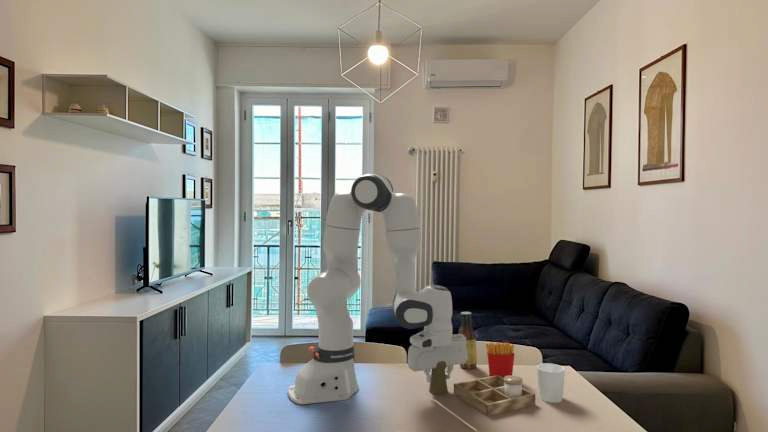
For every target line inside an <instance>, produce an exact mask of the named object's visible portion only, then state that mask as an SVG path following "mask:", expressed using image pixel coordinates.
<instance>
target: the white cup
mask: <svg viewBox="0 0 768 432" xmlns="http://www.w3.org/2000/svg"><path fill="white" fill-rule="evenodd" d="M565 370H566V369H565V367H563V366H562V365H559V364H555V363H552V362H551V363H550V362H549V363H548V362H546V363H544V362H543V363H539V364H537V365H536V372H537V373H536V374H537V387H538V398H539V399H540V400H541V401H544V402H546V403H552V404H557V403H561V402H563V396H564V391H565V390H564V389H565V388H564V387H565V374H566V373H565Z"/></svg>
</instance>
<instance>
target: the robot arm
mask: <svg viewBox="0 0 768 432" xmlns="http://www.w3.org/2000/svg"><path fill="white" fill-rule="evenodd" d="M366 210H367V211H371V212H372V211H373V212H376V213H380V214H381V215H382V217H383V223H384V234H385V241H386V244H387V245H386V246H387V248H388V252H389V254H390V256H391V258H392V261H393V264H394V269H395V270H394V271H395V282H396V291H395V294H394V297H393V299H392V311H393V313H394V316H395V319H396V322H397V323H398V324H399V325H400V326H401V327H402V328H405V329H409V330H412V329H418V328H419V329H420V328H423V327H424V328H423V330H421V331H420V332H418V333H416V334H413V335H411V336H410V338H409V343H410V344H411V345H410V346H409V347H408V353H407V367H408V369H410V370H411V371H412V372H415V373H416V372H422V371H423V373H424V375H425V376H426V382H427V383H428V384H430V383H431V382H433V376H431V370H432V369H433V368H436V366H437V363H438V362H440V361H445V362H446V369H445V374H446V381H447V380H450V379H451V373H452V372H453V370H454V366H455V365H460V364H462V363H466V361H467V360H468V355H467V347H466V337H465V336H464V335H462V334H458V333H457V334H455V333H454V334H453V324H452V317H453V300H452V294H451V291H450V290H449V289H448V288H447V287H444V286H442V285H439V284H438V285H437V284H428V285H426V286H425V287H424V288H422V289H421V290H419V291H417V288H416V287H417V286H416V276H415V275H416V274H415V260H416V257H417V255H418V253H419V251H420V249H421V238H422V235H421V232H422V231H421V223H420V222H421V221H420V217H419V211H418V208H417V204H416V201H415V199H414V197H413V196H411V195H410V194H409V193H408V194H407V193H404V192H402V193H401V192H400V193H399V192H398V193H396V192H394V188H393V184H392V182H391V181H390V180H389V178H387V177H385V176H383V175H381V174H379V173H378V174H377V173H367V174H366V173H365V174H363V175H359V176H358V177H357V178H356V179H355V180H354V181H353V183H352V185H351V189H350V191H340V192H337V193H335V194H334V195H333V196H332V198H331V200H330V202H329V206H328V210H327V215H326V219H325V226H324V227H325V228H324V236H323V243H322V244H323V245H322V249H323V253H324V254H325V259H326V260H325V261H326V270H324V271H323V272H322V271H321V272H320V273H318V274H317V275H316V276H314V278H313V279H311V281H310V282H309V283H308V285H307V290H306V293H307V297H308V300H309V302H310V303H311V304H312V305H313V307H314V310H315V313H316V316H317V317H316V318H317V324H318V345H317V346H316V347H314V346H309V348H308V349H307V350H308V352H309V353H310V354H312V359H310V361H308V362H307V363H306V364H305V365H303V366H302V367H301V368H300V369H299V370H298V371H297V372H296V375H295V379H294V384H292V385H290V386H289V387H288V388H287V396H288V397H289V399H290V400H291V401H292V402H293V403H296V404H298V405H307V404H318V403H327V402H328V403H329V402H337V401H347V400H349V399H350V398H351V396H353V395H354V394H355V393H357V392H358V390H359V384H358V380H357V375H356V371H355V370H356V369H355V359H356V349H355V344H354V322H353V319H352V317H351V315H350V313H349V309H348V299H350V298H352V297H353V296H355V295H356V293H357V292H358V290H359V288H360V286H361V281H362V280H361V276H360V274H359V264H358V263H359V262H358V249H359V239H360V231H361V224H362V218H363V214H364V213H365V211H366ZM462 336H463V337H462Z"/></svg>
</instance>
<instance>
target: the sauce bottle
mask: <svg viewBox="0 0 768 432" xmlns="http://www.w3.org/2000/svg"><path fill="white" fill-rule="evenodd" d="M472 317H473V315H472V312H471V311H461V312H460V322H461V323H460V324H461V325H460V327H459V329H458V333H457V334H462V335H464V336H465V337H466V347H467V355H468V360H467V361H466V363H462V364H459V366H461V367H462V369H465V370H473V369H475V368H476V367H477V362H478V361H477V360H478V359H477V358H478V357H477V339H476V338H477V335H476V332H475V330H474V328H473V323H472V322H473V321H472ZM462 337H463V336H462ZM461 367H460V368H461Z"/></svg>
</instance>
